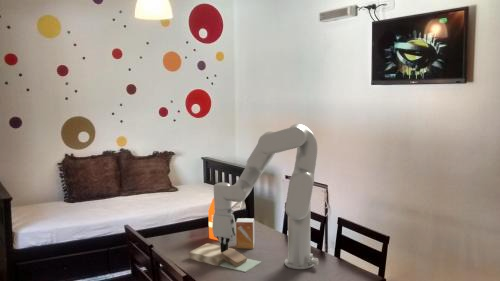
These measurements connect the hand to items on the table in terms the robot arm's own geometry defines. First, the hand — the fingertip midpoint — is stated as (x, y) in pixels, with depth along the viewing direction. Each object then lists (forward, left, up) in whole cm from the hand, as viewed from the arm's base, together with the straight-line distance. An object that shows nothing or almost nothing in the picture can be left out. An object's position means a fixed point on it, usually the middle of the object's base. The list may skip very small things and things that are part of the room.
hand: (224, 251), depth 207 cm
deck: (+7, 0, -4) cm, 8 cm away
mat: (-8, 0, -4) cm, 9 cm away
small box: (+2, -19, -4) cm, 20 cm away
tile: (-5, +1, -2) cm, 6 cm away
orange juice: (+20, -23, -4) cm, 31 cm away
